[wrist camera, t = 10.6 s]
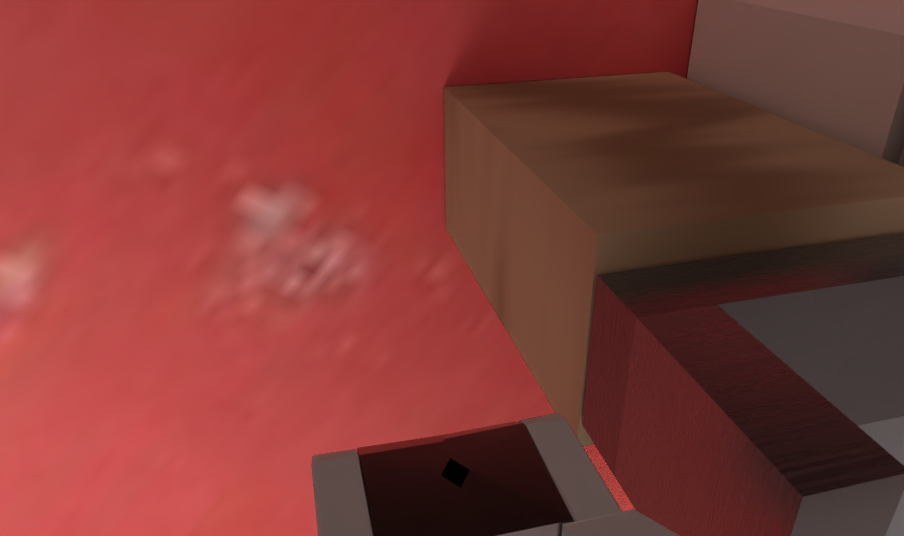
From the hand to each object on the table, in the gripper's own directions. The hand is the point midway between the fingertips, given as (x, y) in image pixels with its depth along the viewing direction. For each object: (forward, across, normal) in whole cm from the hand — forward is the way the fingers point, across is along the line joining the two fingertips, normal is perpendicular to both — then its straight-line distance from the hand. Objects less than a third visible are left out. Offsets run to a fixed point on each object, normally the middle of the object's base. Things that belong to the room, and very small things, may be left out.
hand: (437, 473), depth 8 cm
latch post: (+11, -6, 0) cm, 13 cm away
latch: (+2, -6, 0) cm, 6 cm away
